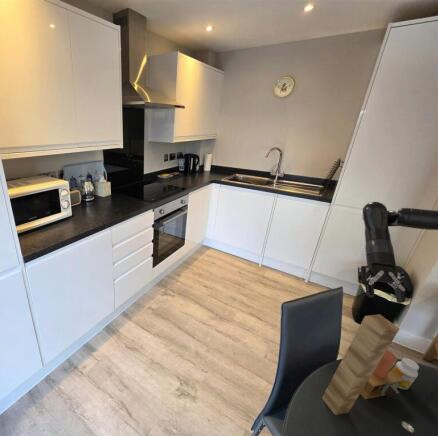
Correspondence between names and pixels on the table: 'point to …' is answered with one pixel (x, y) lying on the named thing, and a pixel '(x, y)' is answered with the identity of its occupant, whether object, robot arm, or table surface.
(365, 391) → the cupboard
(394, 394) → the green toy piece
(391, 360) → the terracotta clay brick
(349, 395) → the column
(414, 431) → the table surface
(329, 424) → the table surface
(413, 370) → the supplement bottle
